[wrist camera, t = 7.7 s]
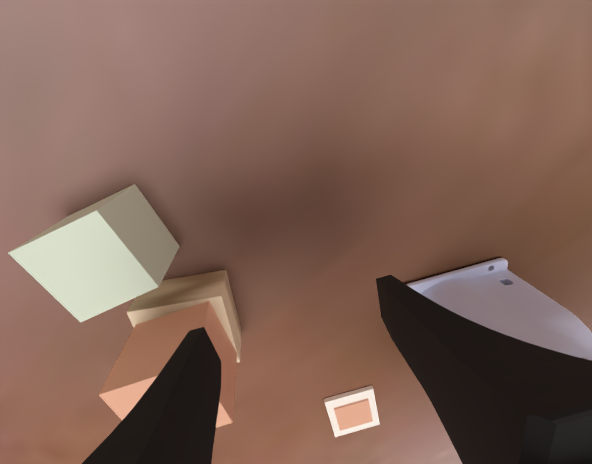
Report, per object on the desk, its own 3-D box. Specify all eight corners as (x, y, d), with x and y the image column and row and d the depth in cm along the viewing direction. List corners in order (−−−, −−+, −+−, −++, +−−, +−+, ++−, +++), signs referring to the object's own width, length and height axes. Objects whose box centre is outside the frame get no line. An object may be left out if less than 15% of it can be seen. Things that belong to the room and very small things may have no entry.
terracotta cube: (209, 300, 19) (195, 363, 14) (237, 353, 21) (232, 422, 16) (135, 324, 19) (98, 394, 14) (171, 374, 21) (148, 449, 16)
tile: (371, 385, 29) (373, 390, 29) (378, 420, 32) (380, 426, 31) (323, 398, 29) (325, 404, 29) (334, 433, 32) (335, 438, 31)
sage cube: (135, 183, 18) (96, 210, 14) (180, 245, 21) (158, 286, 16) (67, 216, 19) (8, 252, 14) (118, 274, 21) (80, 322, 16)
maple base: (226, 267, 22) (221, 296, 19) (241, 328, 24) (239, 361, 21) (145, 281, 22) (126, 312, 18) (169, 341, 24) (156, 377, 21)
